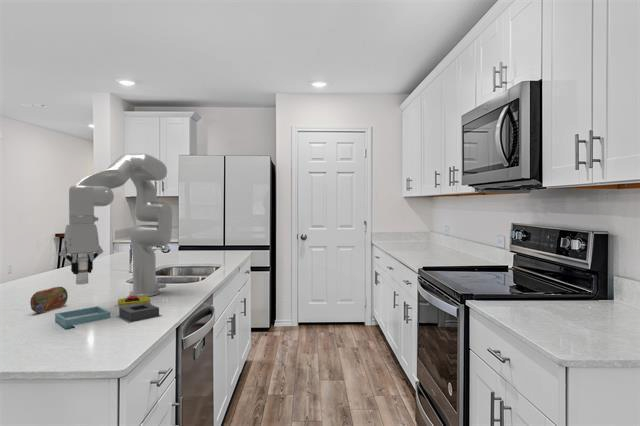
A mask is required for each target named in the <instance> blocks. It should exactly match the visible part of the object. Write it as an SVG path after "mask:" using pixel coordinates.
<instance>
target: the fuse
mask: <svg viewBox="0 0 640 426" xmlns="http://www.w3.org/2000/svg"><path fill="white" fill-rule="evenodd" d="M76 261H77V263H78V274H75V275H76V276H75V279H76V280H75V285H86V284H87V285H88V284H89V273H88V257H87V256H79V257H78V256H77V259H76Z"/></svg>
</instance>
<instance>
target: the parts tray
mask: <svg viewBox="0 0 640 426" xmlns="http://www.w3.org/2000/svg"><path fill="white" fill-rule="evenodd" d="M89 314H90V315H89ZM79 316H80V317H79ZM73 317H74V318H73ZM107 319H111V312H110V311H109V310H107V309H105V308H103V307H101V306H98V305H97V306H91V307H85V308H78V309H74V310H68V311H61V312H56V313H54V322H55V323H56V324H57V323H58V324H57V325H58V326H61V327H62V328H63V329H64V330H70V329H73V328H74V329H75V328H76V325H80V324H86V323H90V322H91V323H92V322H95V321H100V320H101V321H103V320H107ZM74 325H75V326H74Z"/></svg>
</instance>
